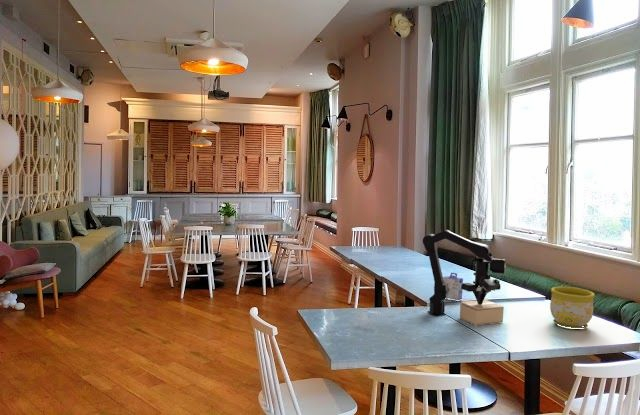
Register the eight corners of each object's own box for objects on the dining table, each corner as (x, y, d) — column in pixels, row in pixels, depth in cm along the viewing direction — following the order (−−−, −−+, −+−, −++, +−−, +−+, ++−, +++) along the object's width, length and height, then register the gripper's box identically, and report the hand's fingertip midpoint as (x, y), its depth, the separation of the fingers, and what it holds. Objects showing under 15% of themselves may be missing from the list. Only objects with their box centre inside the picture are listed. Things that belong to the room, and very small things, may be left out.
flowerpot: (597, 334, 220) (600, 297, 218) (554, 330, 223) (556, 294, 222) (584, 321, 237) (587, 288, 236) (544, 318, 241) (546, 285, 239)
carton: (475, 325, 226) (476, 310, 226) (459, 318, 237) (460, 303, 236) (502, 322, 232) (503, 307, 231) (485, 315, 243) (486, 301, 242)
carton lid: (476, 309, 225) (476, 308, 225) (460, 302, 236) (460, 301, 236) (503, 307, 231) (503, 306, 231) (486, 301, 242) (486, 299, 242)
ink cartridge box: (462, 300, 270) (463, 274, 268) (458, 302, 265) (460, 275, 264) (445, 297, 276) (446, 271, 274) (441, 298, 271) (442, 272, 270)
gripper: (477, 276, 221) (475, 310, 222) (510, 274, 228) (507, 307, 229) (461, 271, 231) (459, 303, 233) (493, 269, 238) (491, 301, 240)
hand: (479, 304), depth 233 cm, fingers closed, pressing on carton lid
